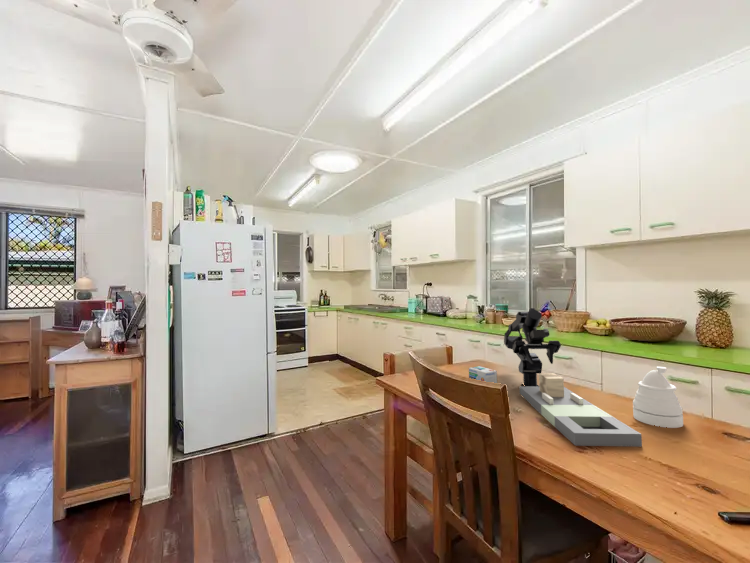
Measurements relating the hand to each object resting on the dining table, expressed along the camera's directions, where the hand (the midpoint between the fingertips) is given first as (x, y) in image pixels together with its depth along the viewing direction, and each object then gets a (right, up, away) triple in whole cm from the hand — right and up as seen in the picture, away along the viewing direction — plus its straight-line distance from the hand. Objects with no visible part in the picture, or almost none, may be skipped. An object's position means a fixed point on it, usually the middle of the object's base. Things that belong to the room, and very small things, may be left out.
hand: (542, 363), depth 140 cm
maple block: (-1, -10, -8) cm, 13 cm away
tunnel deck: (-2, -13, -22) cm, 26 cm away
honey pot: (+25, -12, -28) cm, 39 cm away
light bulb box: (-23, -15, +5) cm, 28 cm away
